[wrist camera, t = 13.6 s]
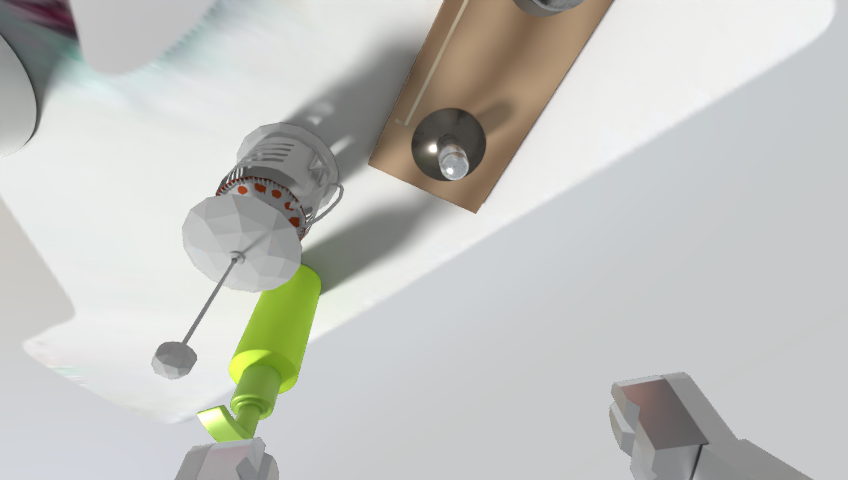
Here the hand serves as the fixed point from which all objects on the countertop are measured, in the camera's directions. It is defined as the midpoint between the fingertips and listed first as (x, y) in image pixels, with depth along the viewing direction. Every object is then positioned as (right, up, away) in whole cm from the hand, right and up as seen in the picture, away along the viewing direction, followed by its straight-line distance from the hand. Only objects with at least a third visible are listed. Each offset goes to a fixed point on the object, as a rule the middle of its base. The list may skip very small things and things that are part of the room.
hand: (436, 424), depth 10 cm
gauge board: (+6, +20, +27) cm, 34 cm away
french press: (-13, +11, +31) cm, 36 cm away
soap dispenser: (-15, 0, +38) cm, 41 cm away
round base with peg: (+2, +13, +30) cm, 32 cm away
